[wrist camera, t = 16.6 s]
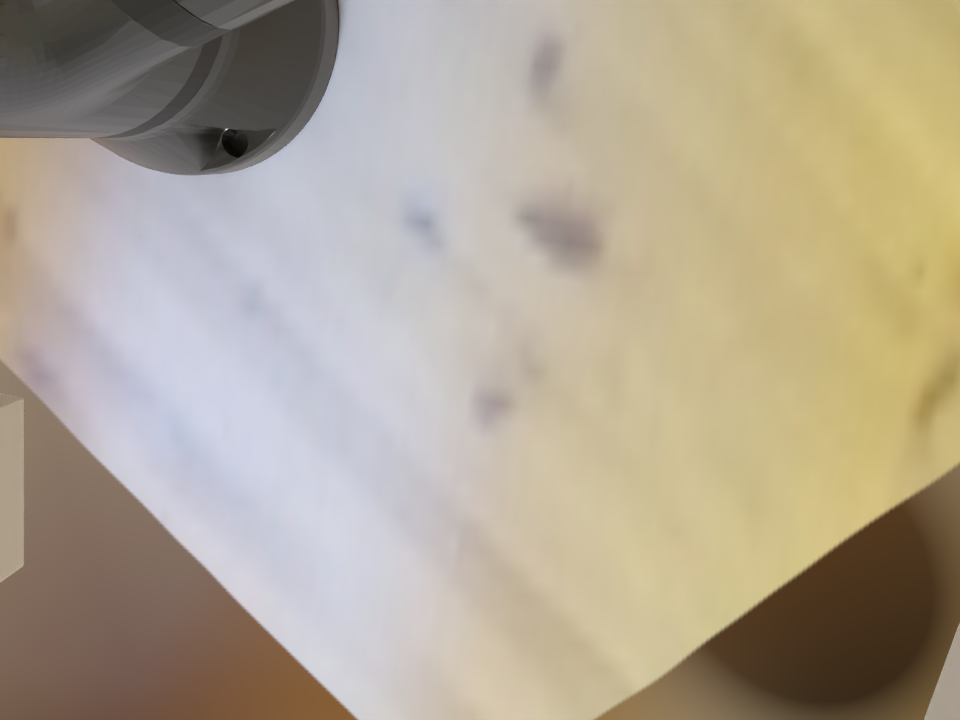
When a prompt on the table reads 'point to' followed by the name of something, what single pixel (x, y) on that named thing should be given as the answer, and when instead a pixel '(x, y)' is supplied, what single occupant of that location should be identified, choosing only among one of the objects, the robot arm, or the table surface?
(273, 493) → the table surface
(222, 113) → the robot arm
